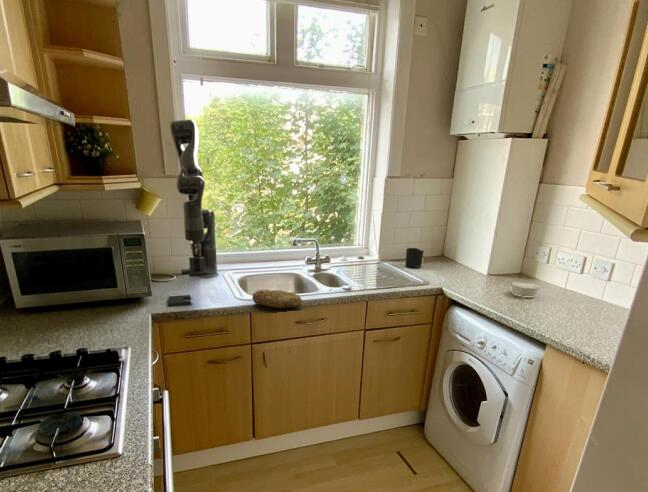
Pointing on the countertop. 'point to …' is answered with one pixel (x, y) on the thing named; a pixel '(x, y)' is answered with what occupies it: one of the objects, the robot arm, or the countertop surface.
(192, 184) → the robot arm
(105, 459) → the countertop surface
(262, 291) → the brown rounded lump
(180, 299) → the base pad
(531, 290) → the ramekin
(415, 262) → the pen holder
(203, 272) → the joining pad
